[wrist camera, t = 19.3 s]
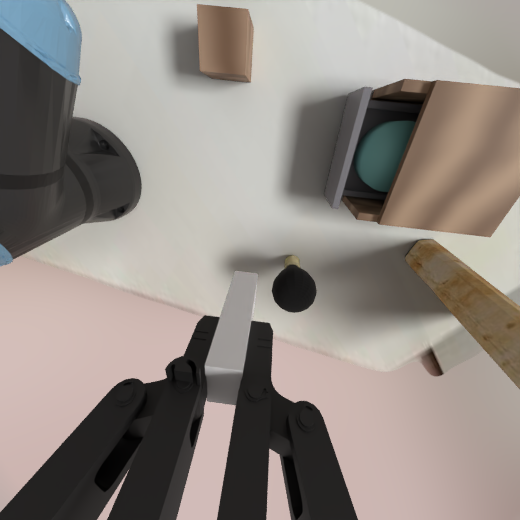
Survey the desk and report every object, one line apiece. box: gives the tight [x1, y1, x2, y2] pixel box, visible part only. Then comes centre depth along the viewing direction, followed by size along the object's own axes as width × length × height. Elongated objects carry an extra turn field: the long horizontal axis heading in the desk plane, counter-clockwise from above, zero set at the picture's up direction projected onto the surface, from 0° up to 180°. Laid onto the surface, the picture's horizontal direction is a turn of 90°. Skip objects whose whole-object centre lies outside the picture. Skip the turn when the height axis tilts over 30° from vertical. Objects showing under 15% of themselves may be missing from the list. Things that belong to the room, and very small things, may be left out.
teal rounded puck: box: [354, 121, 416, 192], centre depth 29 cm, size 8×8×4 cm
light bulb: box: [272, 256, 316, 313], centre depth 37 cm, size 7×7×12 cm
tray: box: [324, 87, 423, 209], centre depth 28 cm, size 18×13×6 cm
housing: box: [342, 79, 520, 237], centre depth 27 cm, size 16×14×9 cm
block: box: [197, 4, 254, 82], centre depth 25 cm, size 5×5×5 cm
